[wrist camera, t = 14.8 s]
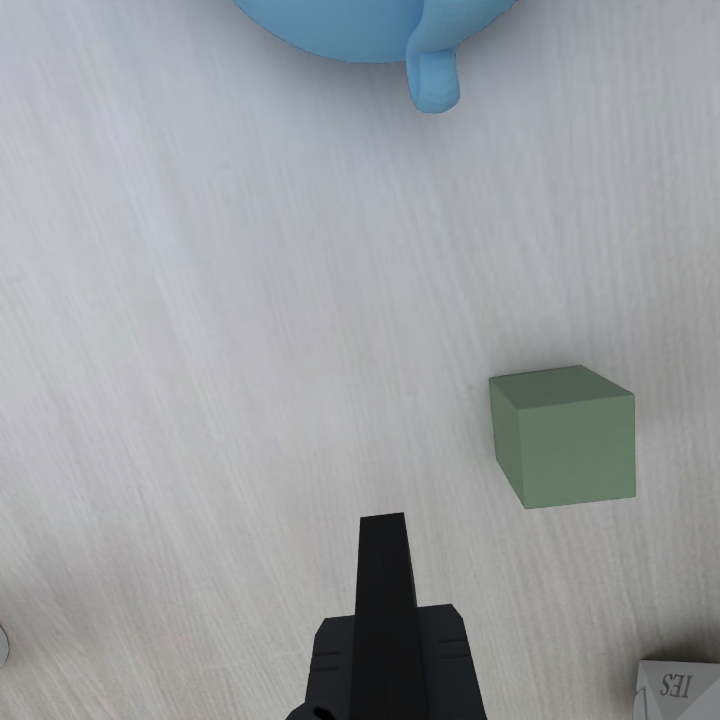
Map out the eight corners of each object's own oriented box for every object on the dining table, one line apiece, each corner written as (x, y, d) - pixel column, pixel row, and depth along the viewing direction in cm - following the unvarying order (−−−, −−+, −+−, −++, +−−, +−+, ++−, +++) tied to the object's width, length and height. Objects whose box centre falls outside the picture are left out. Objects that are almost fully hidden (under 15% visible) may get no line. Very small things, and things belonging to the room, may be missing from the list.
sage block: (585, 449, 25) (636, 497, 20) (496, 460, 25) (524, 510, 20) (582, 364, 23) (635, 393, 19) (488, 377, 24) (516, 409, 19)
